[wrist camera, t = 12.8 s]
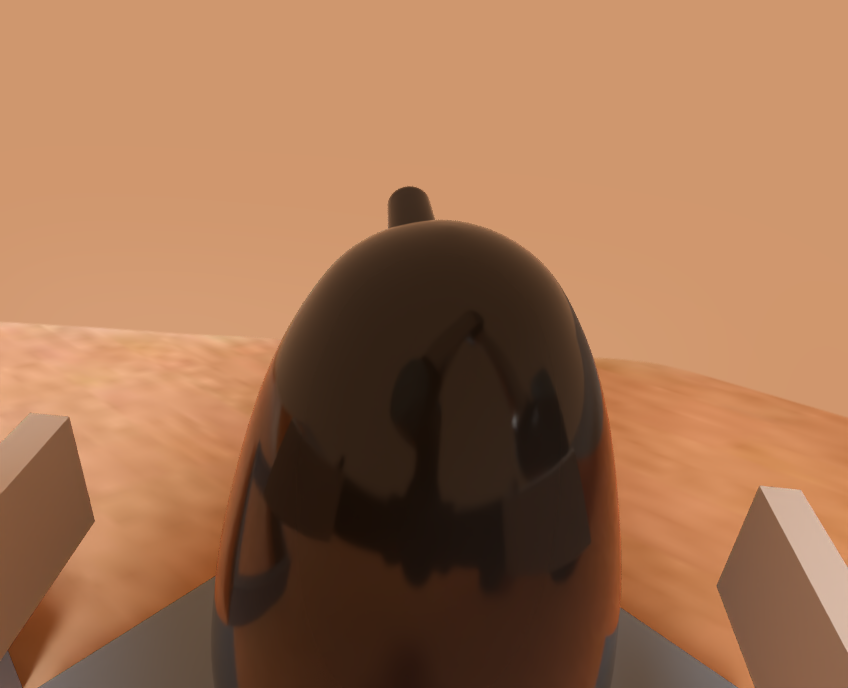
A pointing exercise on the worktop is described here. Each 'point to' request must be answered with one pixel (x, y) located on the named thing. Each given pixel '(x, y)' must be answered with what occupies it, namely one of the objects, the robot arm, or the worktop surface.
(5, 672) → the gray open frame
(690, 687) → the slate-blue board
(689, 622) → the worktop surface
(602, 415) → the dark brown egg shape
